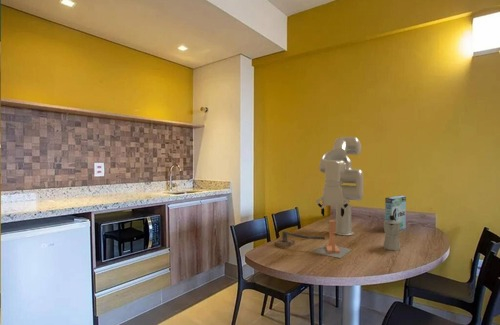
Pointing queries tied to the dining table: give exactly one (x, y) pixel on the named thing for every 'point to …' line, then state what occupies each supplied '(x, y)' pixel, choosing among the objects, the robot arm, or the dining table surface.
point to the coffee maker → (391, 234)
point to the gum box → (396, 209)
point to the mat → (323, 251)
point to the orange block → (332, 238)
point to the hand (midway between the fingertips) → (332, 215)
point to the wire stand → (287, 243)
